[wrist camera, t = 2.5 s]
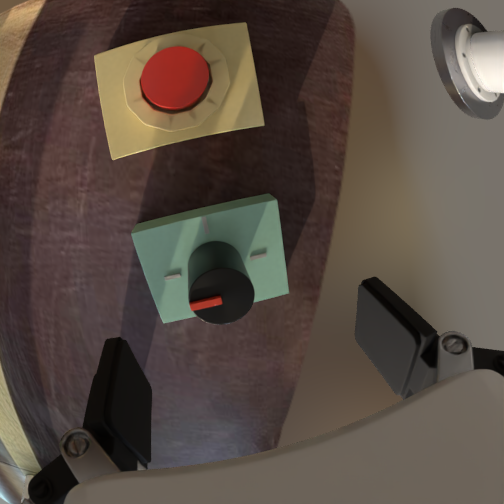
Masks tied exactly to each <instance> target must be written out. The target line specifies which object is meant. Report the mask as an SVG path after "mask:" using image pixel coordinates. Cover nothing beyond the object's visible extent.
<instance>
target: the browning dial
mask: <svg viewBox="0 0 504 504" xmlns="http://www.w3.org/2000/svg"><path fill="white" fill-rule="evenodd" d="M254 298H255V291H254V286H253V284H252V282H251V279H250V277H249V275H248V272H247V270H246V267H245V265H244V263H243V260H242V258H241V256H240V254H239V252H238V251H237V250H236V249H235V248H234V247H233V246H232V245H230V244H228V243H225V242H221V241H211V242H207V243H204V244H202V245H200V246H199V247H198V248H196V249H195V250H194V251H193V253H192V254H191V256H190V258H189V261H188V300H189V305H190V308H191V311H193V312H194V314H195V315H196V316H197V317H198V318H200V319H201V320H203V321H205V322H207V323H211V324H217V325H222V324H229V323H232V322H235V321H237V320H239V319H240V318H242V317H243V316H244V315H246V314H247V312H248V311H249V310H250V308H251V307H252V305H253V302H254Z"/></svg>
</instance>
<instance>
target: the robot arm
mask: <svg viewBox="0 0 504 504" xmlns="http://www.w3.org/2000/svg"><path fill="white" fill-rule="evenodd" d="M455 50H456V55H457V59H458V63H459V66H460V69H461V72H462V74H463V76H464V78H465V80H466V82H467V84H468V86H469V87H470V89H471V90H472V92H473V93H474V94H475V95H476V96H477V97H478V98H479V99H481V100H483V101H486V102H493V101H495V100H497V98H498V97H499V95H500V93H504V31H491V32H482V31H481V30H480V29H479V28H478V27H476V26H475V25H472V24H465V25H461V26H460V27H459V28H458V29H457V31H456V35H455ZM355 339H356V341H357V343H358V344H359V346H360V347H361V348H362V350H363V351H364V352H365V354H366V355H367V356H368V357H369V359H370V360H371V361H372V363H373V364H374V365H375V367H376V368H377V369H378V371H379V372H380V373H381V375H382V376H383V378H384V379H385V380H386V382H387V383H388V384H389V386H390V387H391V388H392V390H393V391H394V393H395V394H396V395H400V396H401V397H402V398H403V400H402V401H400V402H398V403H396V404H394V405H392V406H390V407H388V408H386V409H384V410H381V411H379V412H378V413H375V414H373V415H370V416H368V417H366V418H363V419H361V420H359V421H356V422H354V423H351V424H349V425H347V426H344V427H341V428H338V429H336V430H333V431H330V432H328V433H325V434H322V435H319V436H316V437H313V438H310V439H307V440H304V441H301V442H297V443H294V444H291V445H287V446H284V447H280V448H276V449H273V450H269V451H265V452H261V453H256V454H252V455H248V456H243V457H238V458H233V459H228V460H223V461H217V462H211V463H204V464H197V465H190V466H181V467H173V468H163V469H150V470H147V463H149V462H151V407H152V389H151V386H150V384H149V382H148V380H147V379H146V377H145V375H144V373H143V371H142V370H141V368H140V366H139V364H138V362H137V360H136V358H135V356H134V354H133V353H132V351H131V349H130V347H129V345H128V343H127V341H126V340H122V339H121V338H120V337H116V338H110V339H106V341H105V344H104V347H103V351H102V355H101V358H100V362H99V366H98V370H97V374H95V376H94V378H93V382H92V386H91V390H90V394H89V399H88V403H87V408H86V412H85V417H84V422H83V428H79V427H77V428H73V429H71V430H69V431H67V432H66V433H65V434H64V435H63V437H62V438H61V441H60V452H61V455H60V456H59V457H57V458H56V459H55V460H54V461H52V462H51V463H50V464H49V465H47V466H46V467H45V468H44V469H42V470H41V471H40V472H39V473H37V474H36V475H35V476H34V477H33V478H32V479H31V480H30V482H29V484H28V495H29V499H26V498H24V500H23V501H22V503H21V504H504V351H499V350H491V349H482V348H475V347H472V345H471V342H470V340H469V338H468V337H466V336H465V335H464V334H462V333H460V332H456V331H449V332H445V333H444V334H442V335H441V336H439V335H438V334H437V331H436V330H435V329H434V328H433V327H432V326H431V325H430V324H429V323H427V322H426V321H425V320H424V319H423V318H422V317H421V316H420V315H419V314H418V313H417V312H415V311H414V310H413V309H412V308H411V307H410V306H409V305H408V304H407V303H405V302H404V301H403V300H402V299H401V298H400V297H399V296H398V295H397V294H395V293H394V292H393V291H392V290H391V289H390V288H389V287H387V286H386V285H385V284H384V283H383V282H382V281H381V280H379V279H378V278H377V277H372V278H369V279H366V280H363V281H362V283H361V285H359V287H358V301H357V315H356V326H355ZM137 470H138V471H137Z"/></svg>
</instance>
